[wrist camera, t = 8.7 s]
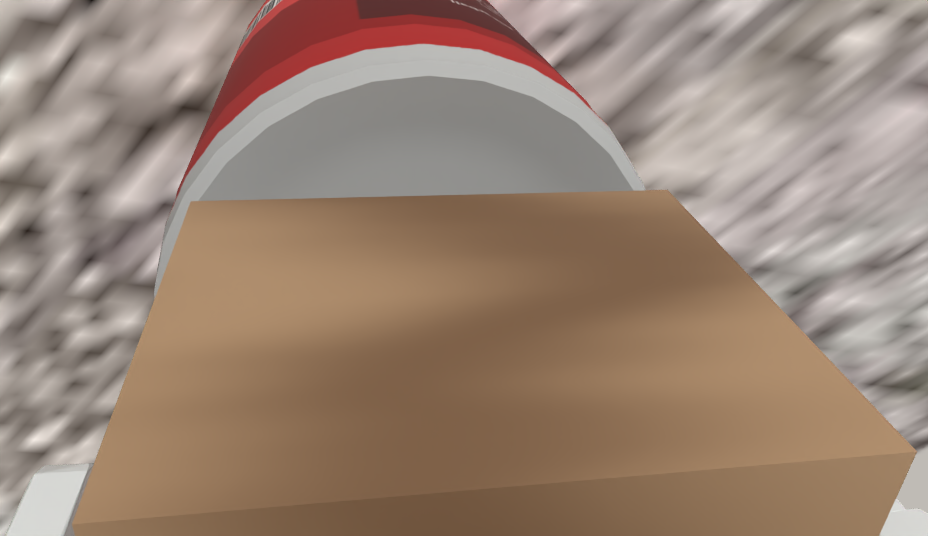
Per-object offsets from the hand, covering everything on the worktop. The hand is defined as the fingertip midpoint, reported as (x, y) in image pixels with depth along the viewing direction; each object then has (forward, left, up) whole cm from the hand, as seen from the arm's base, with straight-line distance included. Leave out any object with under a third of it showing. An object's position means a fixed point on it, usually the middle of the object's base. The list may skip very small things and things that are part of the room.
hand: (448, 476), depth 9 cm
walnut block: (0, 0, -2) cm, 2 cm away
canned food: (0, 0, -14) cm, 14 cm away
